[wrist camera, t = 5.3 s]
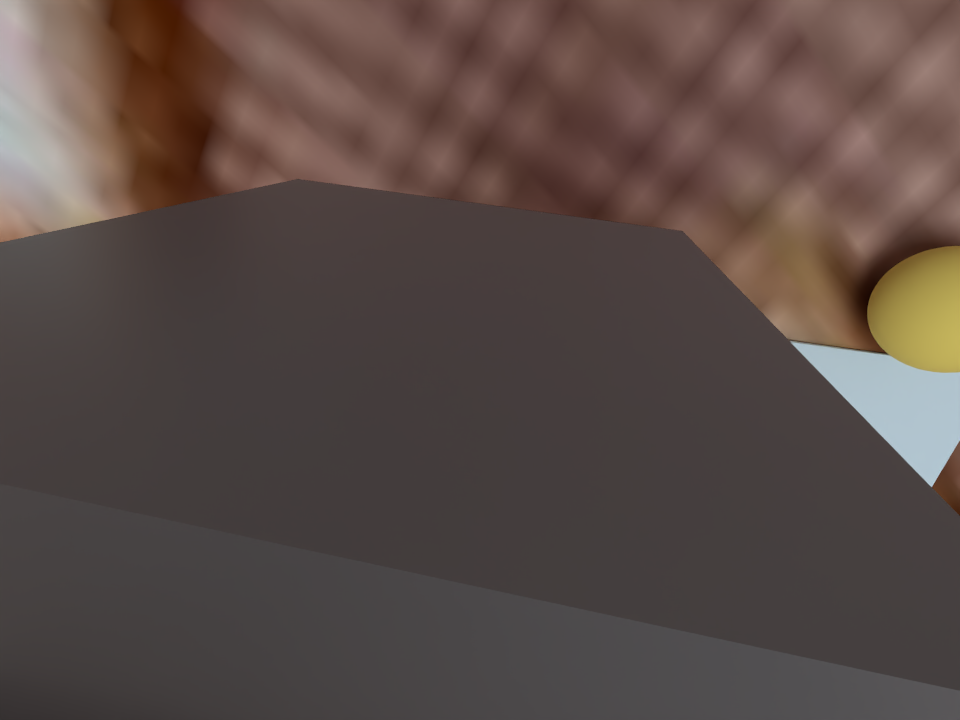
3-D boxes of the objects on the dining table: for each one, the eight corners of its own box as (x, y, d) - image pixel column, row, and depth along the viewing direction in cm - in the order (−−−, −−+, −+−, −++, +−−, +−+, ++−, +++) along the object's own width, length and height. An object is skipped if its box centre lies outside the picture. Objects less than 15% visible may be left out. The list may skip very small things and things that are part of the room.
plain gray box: (297, 179, 10) (-560, 364, 3) (682, 231, 10) (1175, 739, 2) (316, 538, 15) (25, 1011, 7) (581, 594, 14) (590, 1200, 6)
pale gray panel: (768, 337, 24) (769, 338, 24) (997, 368, 23) (1001, 370, 23) (699, 526, 30) (700, 528, 29) (884, 559, 28) (886, 562, 28)
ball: (872, 227, 22) (949, 254, 17) (1001, 242, 21) (1115, 273, 17) (827, 335, 24) (885, 384, 19) (943, 350, 23) (1031, 404, 19)
